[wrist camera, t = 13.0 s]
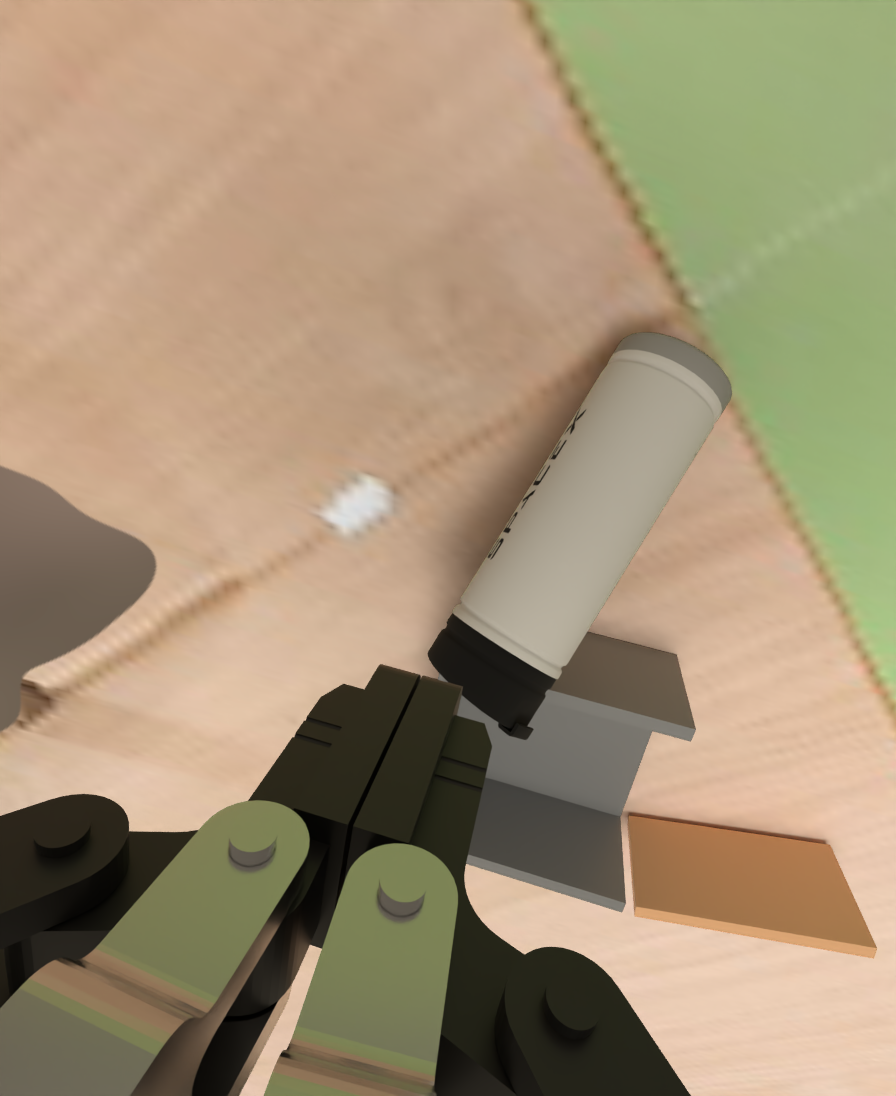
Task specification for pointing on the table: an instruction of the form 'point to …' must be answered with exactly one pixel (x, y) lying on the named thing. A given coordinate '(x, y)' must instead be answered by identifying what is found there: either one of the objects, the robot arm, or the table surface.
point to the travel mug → (579, 526)
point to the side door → (744, 885)
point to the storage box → (576, 770)
